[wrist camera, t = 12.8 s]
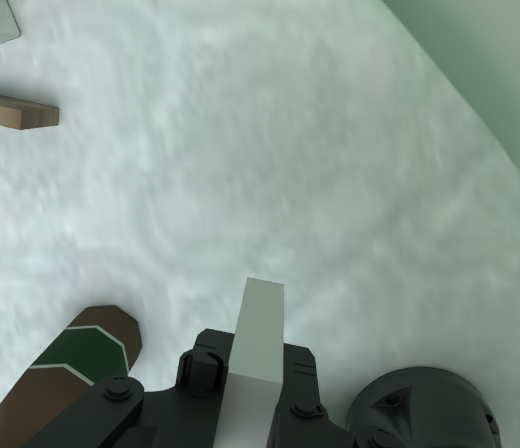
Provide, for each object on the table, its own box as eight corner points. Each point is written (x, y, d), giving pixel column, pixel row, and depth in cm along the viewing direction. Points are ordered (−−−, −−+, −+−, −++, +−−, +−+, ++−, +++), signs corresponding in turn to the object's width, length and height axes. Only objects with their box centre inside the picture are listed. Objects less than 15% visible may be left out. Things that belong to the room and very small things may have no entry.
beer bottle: (78, 292, 45) (-138, 497, 22) (152, 314, 45) (14, 539, 22) (65, 356, 47) (-143, 603, 24) (136, 376, 48) (-5, 640, 24)
